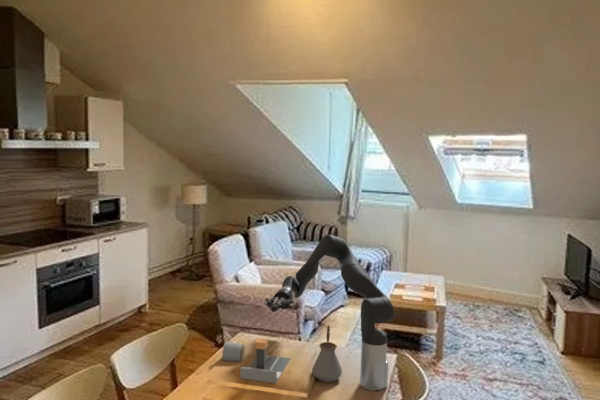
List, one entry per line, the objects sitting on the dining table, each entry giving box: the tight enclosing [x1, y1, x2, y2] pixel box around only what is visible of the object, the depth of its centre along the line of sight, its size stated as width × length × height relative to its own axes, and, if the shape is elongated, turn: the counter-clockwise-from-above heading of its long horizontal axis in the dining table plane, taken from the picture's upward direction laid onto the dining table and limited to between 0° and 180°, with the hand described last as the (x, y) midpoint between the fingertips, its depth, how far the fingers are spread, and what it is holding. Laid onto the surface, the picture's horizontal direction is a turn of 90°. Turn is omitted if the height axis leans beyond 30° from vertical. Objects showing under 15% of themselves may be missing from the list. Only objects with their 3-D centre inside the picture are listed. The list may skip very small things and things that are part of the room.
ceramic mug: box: [221, 341, 246, 362], centre depth 203 cm, size 11×8×8 cm
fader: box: [254, 337, 269, 369], centre depth 187 cm, size 4×4×13 cm
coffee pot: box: [311, 324, 343, 383], centre depth 193 cm, size 21×12×15 cm, turn 176°
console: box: [239, 354, 291, 385], centre depth 194 cm, size 22×14×5 cm, turn 167°
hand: (273, 309), depth 199 cm, fingers closed
